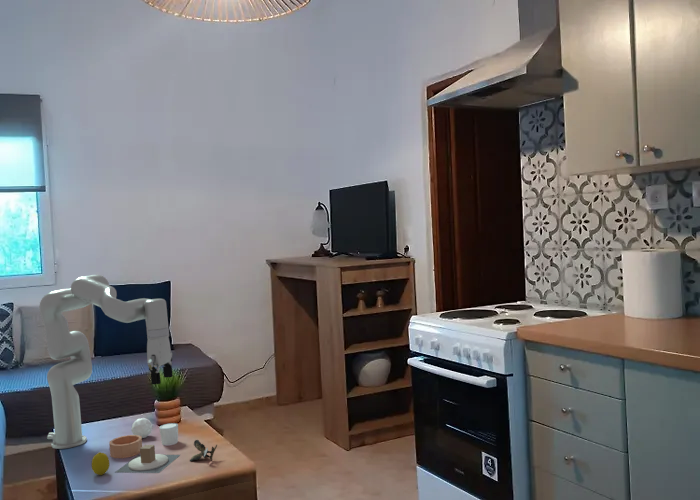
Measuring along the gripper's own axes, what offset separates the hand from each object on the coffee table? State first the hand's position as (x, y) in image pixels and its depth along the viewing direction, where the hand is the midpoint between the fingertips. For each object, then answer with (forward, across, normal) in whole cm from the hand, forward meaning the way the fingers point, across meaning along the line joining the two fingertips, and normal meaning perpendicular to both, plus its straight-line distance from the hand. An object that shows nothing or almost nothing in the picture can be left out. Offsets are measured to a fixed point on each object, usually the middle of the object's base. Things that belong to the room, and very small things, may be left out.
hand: (162, 380), depth 229 cm
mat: (+26, +12, -2) cm, 29 cm away
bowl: (+26, +2, -16) cm, 30 cm away
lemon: (+26, +21, -14) cm, 37 cm away
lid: (+26, +12, -2) cm, 28 cm away
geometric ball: (+26, -16, -18) cm, 35 cm away
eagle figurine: (+27, +7, +16) cm, 32 cm away
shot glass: (+26, -8, -3) cm, 28 cm away
